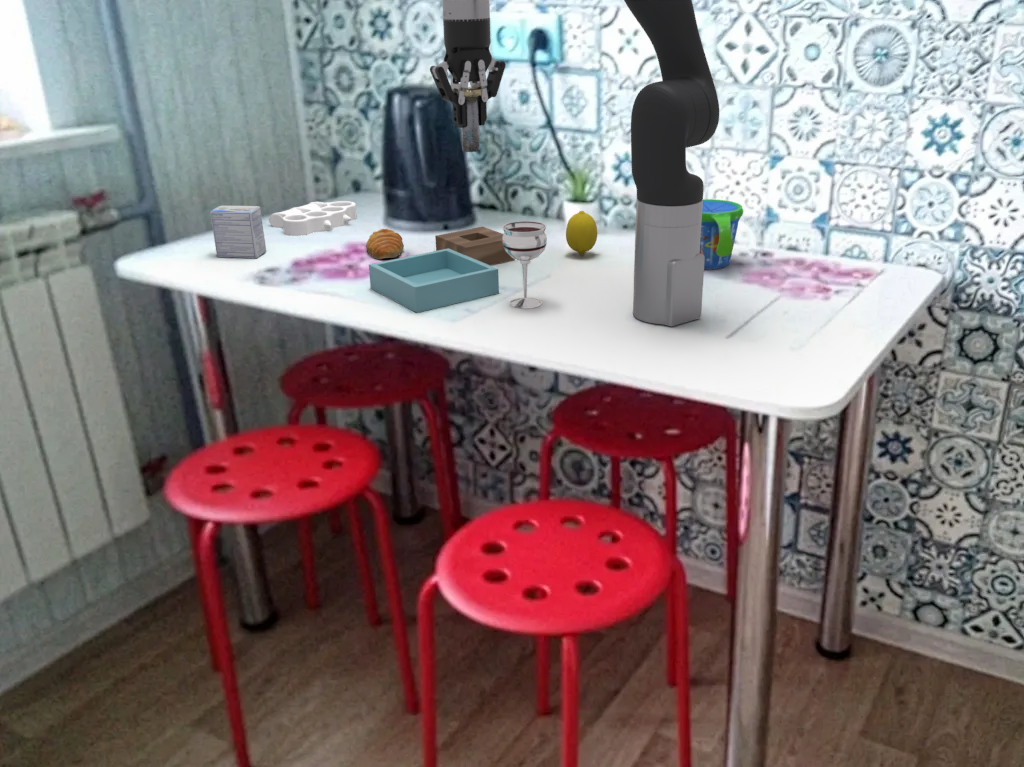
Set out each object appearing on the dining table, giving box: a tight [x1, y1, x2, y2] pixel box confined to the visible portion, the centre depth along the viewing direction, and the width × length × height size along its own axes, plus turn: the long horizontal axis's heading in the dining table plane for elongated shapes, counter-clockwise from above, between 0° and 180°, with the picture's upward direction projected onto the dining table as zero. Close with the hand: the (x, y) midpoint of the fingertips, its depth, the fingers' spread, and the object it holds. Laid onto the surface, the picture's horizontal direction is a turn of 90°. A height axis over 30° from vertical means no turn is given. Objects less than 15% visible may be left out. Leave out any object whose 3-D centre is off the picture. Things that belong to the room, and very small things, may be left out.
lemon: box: [565, 210, 598, 256], centre depth 170 cm, size 6×6×8 cm
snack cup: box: [700, 198, 744, 270], centre depth 163 cm, size 16×10×10 cm
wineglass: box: [501, 220, 548, 309], centre depth 146 cm, size 7×7×12 cm
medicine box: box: [209, 205, 267, 259], centre depth 175 cm, size 8×4×9 cm, turn 80°
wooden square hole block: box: [435, 226, 516, 266], centre depth 170 cm, size 10×10×4 cm
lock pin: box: [456, 86, 482, 153], centre depth 161 cm, size 4×4×10 cm
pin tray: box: [368, 248, 500, 314], centre depth 154 cm, size 15×15×4 cm
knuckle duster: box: [268, 200, 358, 237], centre depth 196 cm, size 3×18×15 cm
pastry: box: [365, 228, 405, 260], centre depth 175 cm, size 9×7×4 cm
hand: (470, 125), depth 162 cm, fingers closed on lock pin, 3 cm apart
